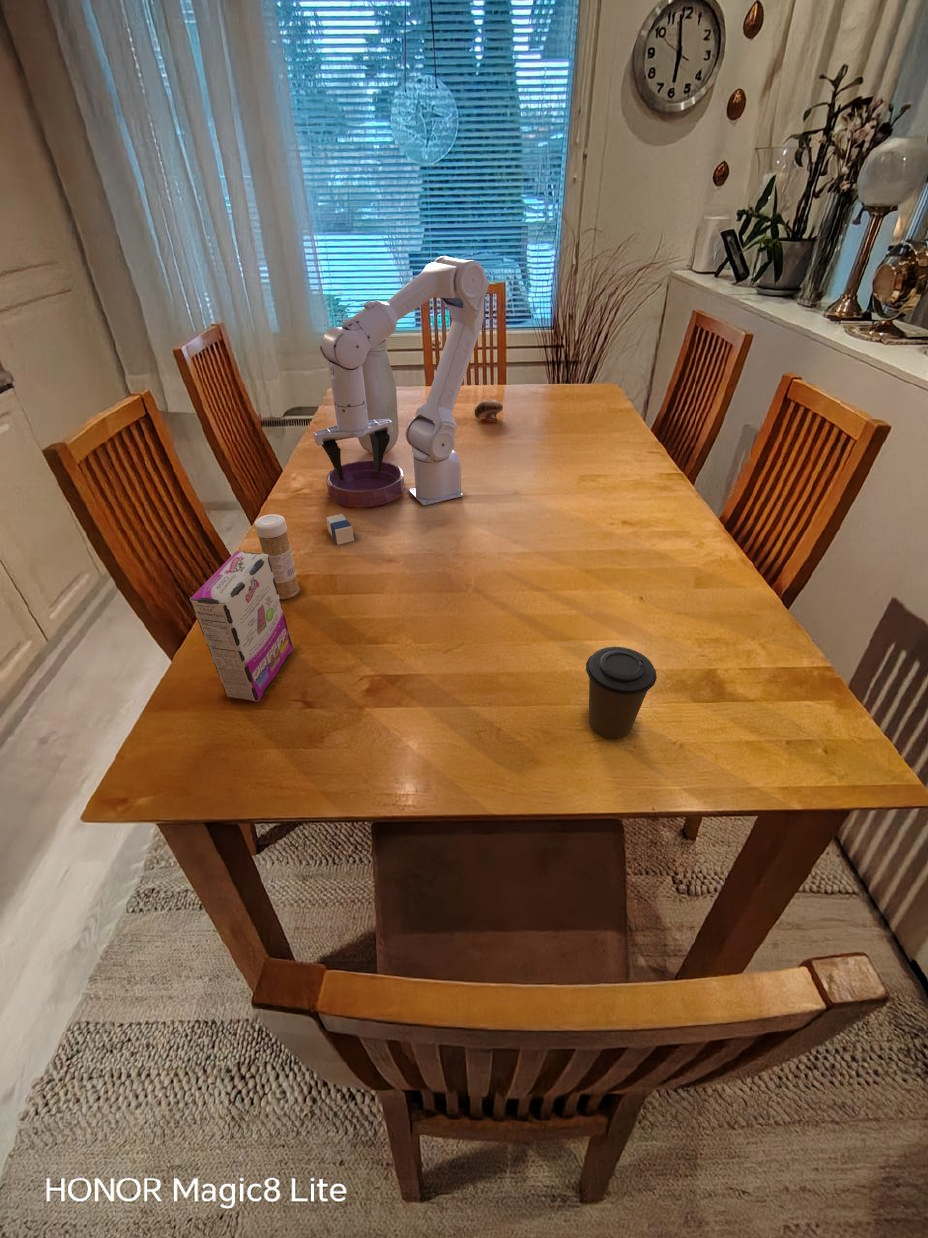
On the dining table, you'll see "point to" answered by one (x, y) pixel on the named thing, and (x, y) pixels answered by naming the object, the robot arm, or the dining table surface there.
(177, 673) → the dining table surface
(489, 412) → the mushroom
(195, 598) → the candy bar box
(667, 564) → the dining table surface
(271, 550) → the sprinkles bottle
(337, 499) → the bowl
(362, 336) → the robot arm
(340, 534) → the eraser
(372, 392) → the white tall rounded piece
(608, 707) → the coffee cup
